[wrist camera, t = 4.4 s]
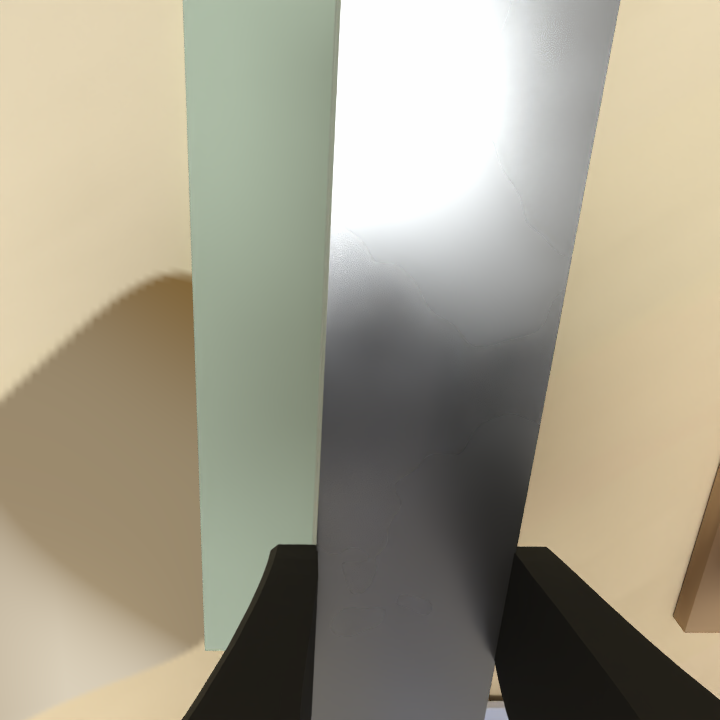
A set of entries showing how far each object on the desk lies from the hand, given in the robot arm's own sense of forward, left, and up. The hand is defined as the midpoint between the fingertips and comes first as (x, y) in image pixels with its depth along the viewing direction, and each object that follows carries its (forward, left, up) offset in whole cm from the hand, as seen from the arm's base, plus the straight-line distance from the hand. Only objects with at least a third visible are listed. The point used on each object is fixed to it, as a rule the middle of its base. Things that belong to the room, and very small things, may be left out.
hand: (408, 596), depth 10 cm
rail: (0, 0, -3) cm, 3 cm away
